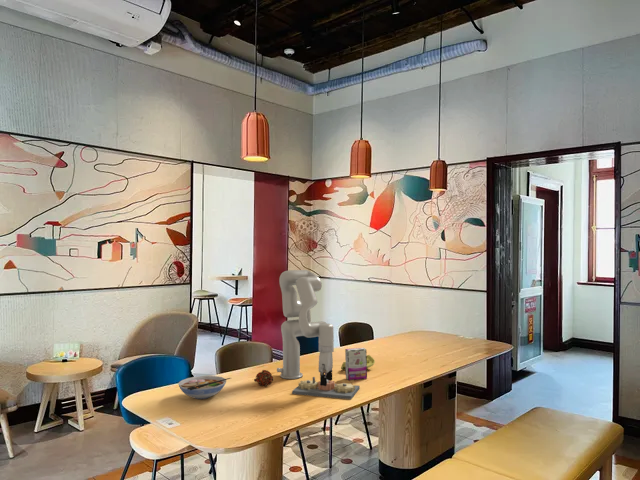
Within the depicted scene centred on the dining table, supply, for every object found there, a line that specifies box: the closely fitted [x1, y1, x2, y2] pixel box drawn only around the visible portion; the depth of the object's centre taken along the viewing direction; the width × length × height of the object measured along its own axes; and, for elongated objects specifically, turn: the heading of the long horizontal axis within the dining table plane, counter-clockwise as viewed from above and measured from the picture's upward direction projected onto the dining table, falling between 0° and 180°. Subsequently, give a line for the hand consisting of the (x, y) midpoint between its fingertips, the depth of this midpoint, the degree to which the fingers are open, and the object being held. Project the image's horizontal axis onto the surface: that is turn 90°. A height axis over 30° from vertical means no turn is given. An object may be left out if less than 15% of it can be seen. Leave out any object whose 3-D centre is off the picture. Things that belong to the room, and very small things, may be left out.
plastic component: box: [340, 354, 376, 371], centre depth 274 cm, size 20×7×10 cm
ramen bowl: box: [178, 375, 231, 400], centre depth 224 cm, size 25×23×8 cm
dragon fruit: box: [253, 369, 274, 387], centre depth 243 cm, size 8×8×12 cm
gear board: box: [291, 376, 361, 400], centre depth 232 cm, size 30×18×6 cm, turn 72°
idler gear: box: [317, 380, 336, 390], centre depth 232 cm, size 8×7×3 cm
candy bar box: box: [344, 347, 368, 381], centre depth 255 cm, size 11×5×16 cm, turn 105°
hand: (326, 382), depth 232 cm, fingers open, 9 cm apart
